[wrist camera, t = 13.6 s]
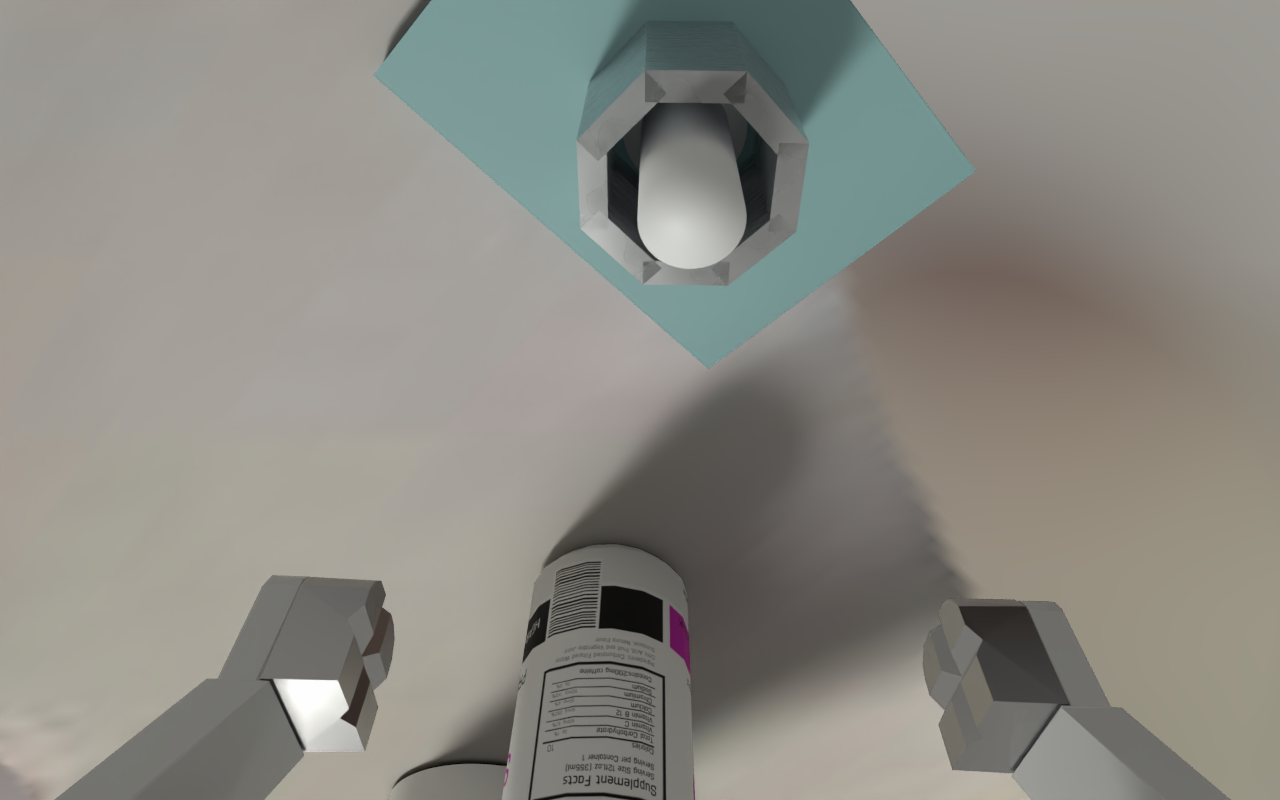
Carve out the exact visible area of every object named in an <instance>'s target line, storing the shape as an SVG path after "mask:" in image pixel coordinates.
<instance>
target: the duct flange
mask: <svg viewBox="0 0 1280 800" xmlns="http://www.w3.org/2000/svg"><path fill="white" fill-rule="evenodd" d="M646 21H721V22H733V23H734V24H735V25H736V27H737V28H738V29H739V30H740V31H741V32H742V34H743V35H744V36H745V37H746V38H747V40H748V41H749V42H750V43H751V44H752V46H753V47H754V48H755V49H756V50H757V52H758V53H759V54H760V55H761V56H762V58H763V59H764V60H765V61H766V62H767V63H768V65H769V66H770V67H771V68H772V69H773V71H774V72H775V73H776V74H777V75H778V77H779V78H780V79H781V80H782V81H783V83H784V84H785V85H786V88H787V90H788V93H789V95H790V97H791V100H792V102H793V105H794V107H795V110H796V112H797V114H798V117H799V119H800V122H801V124H802V127H803V129H804V132H805V134H806V136H807V139H808V141H809V149H808V156H807V163H806V170H805V177H804V184H803V190H802V197H801V204H800V211H799V218H798V225H797V231H796V232H795V233H794V234H793V235H792V236H790V237H789V238H788V239H787V240H785V241H784V242H783V243H782V244H780V245H779V246H778V247H776V248H775V249H774V250H773V251H771V252H770V253H769V254H768V255H766V256H765V257H764V258H763V259H761V260H760V261H759V262H758V263H756V264H755V265H754V266H753V267H751V268H750V269H749V270H747V271H746V272H745V273H744V274H742V275H741V276H740V277H739V278H737V279H736V280H735V281H734V282H732V283H731V284H730V285H729V286H704V285H643V284H642V283H641V282H639V281H638V280H637V279H636V278H635V277H634V276H633V275H632V274H631V273H629V272H628V271H627V270H626V269H625V268H624V267H623V266H622V265H620V264H619V263H618V262H617V261H616V260H615V259H614V258H613V257H612V256H610V255H609V254H608V253H607V252H606V251H605V250H604V249H603V248H601V247H600V246H599V245H598V244H597V243H596V242H595V241H594V240H593V239H591V238H590V237H589V236H588V235H587V234H586V233H585V232H584V231H582V230H581V229H580V210H579V188H578V166H577V143H576V140H577V135H578V130H579V126H580V121H581V117H582V112H583V108H584V103H585V99H586V94H587V90H588V85H589V82H590V81H591V80H592V79H593V78H594V76H595V75H596V74H597V73H598V72H599V71H600V70H601V69H602V68H603V67H604V66H605V65H606V64H607V63H608V62H609V61H610V60H611V58H612V57H613V56H614V55H615V54H616V53H617V52H618V51H619V50H620V49H621V48H622V47H623V46H624V45H625V44H626V43H627V42H628V40H629V39H630V38H631V37H632V36H633V35H634V34H635V33H636V32H637V31H638V30H639V29H640V28H641V27H642V26H643V25H644V24H645V22H646ZM374 76H375V77H376V78H377V79H378V80H379V81H380V82H382V83H383V84H384V85H385V86H386V87H387V88H388V89H390V90H391V91H392V92H393V93H394V94H395V95H396V96H398V97H399V98H400V99H401V100H402V101H403V102H404V103H406V104H407V105H408V106H409V107H410V108H411V109H412V110H414V111H415V112H416V113H417V114H418V115H419V116H420V117H422V118H423V119H424V120H425V121H426V122H427V123H428V124H430V125H431V126H432V127H433V128H434V129H435V130H436V131H438V132H439V133H440V134H441V135H442V136H443V137H444V138H445V139H447V140H448V141H449V142H450V143H451V144H452V145H453V146H455V147H456V148H457V149H458V150H459V151H460V152H461V153H463V154H464V155H465V156H466V157H467V158H468V159H469V160H471V161H472V162H473V163H474V164H475V165H476V166H477V167H479V168H480V169H481V170H482V171H483V172H484V173H485V174H487V175H488V176H489V177H490V178H491V179H492V180H493V181H495V182H496V183H497V184H498V185H499V186H500V187H501V188H503V189H504V190H505V191H506V192H507V193H508V194H509V195H511V196H512V197H513V198H514V199H515V200H516V201H517V202H519V203H520V204H521V205H522V206H523V207H524V208H525V209H527V210H528V211H529V212H530V213H531V214H532V215H533V216H535V217H536V218H537V219H538V220H539V221H540V222H541V223H543V224H544V225H545V226H546V227H547V228H548V229H549V230H551V231H552V232H553V233H554V234H555V235H556V236H557V237H559V238H560V239H561V240H562V241H563V242H564V243H565V244H567V245H568V246H569V247H570V248H571V249H572V250H573V251H574V252H576V253H577V254H578V255H579V256H580V257H581V258H582V259H584V260H585V261H586V262H587V263H588V264H589V265H590V266H592V267H593V268H594V269H595V270H596V271H597V272H598V273H600V274H601V275H602V276H603V277H604V278H605V279H606V280H608V281H609V282H610V283H611V284H612V285H613V286H614V287H616V288H617V289H618V290H619V291H620V292H621V293H622V294H624V295H625V296H626V297H627V298H628V299H629V300H630V301H632V302H633V303H634V304H635V305H636V306H637V307H638V308H640V309H641V310H642V311H643V312H644V313H645V314H646V315H648V316H649V317H650V318H651V319H652V320H653V321H654V322H656V323H657V324H658V325H659V326H660V327H661V328H662V329H664V330H665V331H666V332H667V333H668V334H669V335H670V336H672V337H673V338H674V339H675V340H676V341H677V342H678V343H680V344H681V345H682V346H683V347H684V348H685V349H686V350H688V351H689V352H690V353H691V354H692V355H693V356H694V357H696V358H697V359H698V360H699V361H700V362H701V363H702V364H703V365H705V366H706V367H707V368H708V369H709V368H710V367H711V366H713V365H714V364H715V363H717V362H718V361H720V360H721V359H722V358H724V357H725V356H726V355H728V354H729V353H730V352H732V351H733V350H734V349H736V348H737V347H738V346H740V345H741V344H743V343H744V342H745V341H747V340H748V339H749V338H751V337H752V336H753V335H755V334H756V333H757V332H759V331H760V330H761V329H763V328H764V327H766V326H767V325H768V324H770V323H771V322H772V321H774V320H775V319H776V318H778V317H779V316H780V315H782V314H783V313H784V312H786V311H787V310H789V309H790V308H791V307H793V306H794V305H795V304H797V303H798V302H799V301H801V300H802V299H803V298H805V297H806V296H808V295H809V294H810V293H812V292H813V291H814V290H816V289H817V288H818V287H820V286H821V285H822V284H824V283H825V282H826V281H828V280H829V279H831V278H832V277H833V276H835V275H836V274H837V273H839V272H840V271H841V270H843V269H844V268H845V267H847V266H848V265H849V264H851V263H852V262H853V261H855V260H856V259H857V258H859V257H860V256H862V255H863V254H864V253H866V252H867V251H868V250H870V249H871V248H872V247H874V246H875V245H876V244H878V243H879V242H881V241H882V240H883V239H885V238H886V237H887V236H888V235H890V234H891V233H893V232H894V231H895V230H897V229H898V228H899V227H901V226H902V225H904V224H905V223H906V222H908V221H909V220H910V219H912V218H913V217H914V216H916V215H917V214H919V213H920V212H921V211H923V210H924V209H925V208H927V207H928V206H929V205H931V204H932V203H933V202H935V201H936V200H937V199H939V198H940V197H941V196H943V195H944V194H946V193H947V192H948V191H950V190H951V189H952V188H954V187H955V186H956V185H958V184H959V183H960V182H962V181H963V180H965V179H966V178H967V177H969V176H970V175H971V174H973V173H974V172H975V171H976V170H975V169H974V167H973V166H972V165H971V163H970V162H969V161H968V159H967V158H966V157H965V155H964V154H963V153H962V151H961V150H960V148H959V147H958V146H957V144H956V143H955V142H954V140H953V139H952V138H951V136H950V135H949V134H948V132H947V131H946V129H945V128H944V127H943V125H942V124H941V123H940V122H939V120H938V119H937V117H936V116H935V114H934V113H933V112H932V111H931V109H930V108H929V106H928V105H927V104H926V102H925V101H924V100H923V98H922V97H921V96H920V94H919V93H918V91H917V90H916V89H915V87H914V86H913V85H912V83H911V82H910V81H909V79H908V78H907V77H906V75H905V74H904V73H903V71H902V70H901V68H900V67H899V66H898V64H897V63H896V62H895V60H894V59H893V58H892V56H891V55H890V54H889V52H888V51H887V50H886V48H885V47H884V46H883V44H882V43H881V41H880V40H879V39H878V37H877V36H876V35H875V34H874V32H873V31H872V29H871V28H870V27H869V25H868V24H867V23H866V21H865V20H864V19H863V17H862V16H861V14H860V13H859V12H858V10H857V9H856V8H855V6H854V5H853V4H852V2H851V1H850V0H431V1H430V2H429V4H428V5H427V6H426V8H425V9H424V10H423V12H422V13H421V14H420V15H419V17H418V18H417V19H416V21H415V22H414V23H413V25H412V26H411V27H410V28H409V30H408V31H407V32H406V34H405V35H404V36H403V37H402V39H401V40H400V41H399V43H398V44H397V45H396V47H395V48H394V49H393V50H392V52H391V53H390V54H389V56H388V57H387V58H386V60H385V61H384V62H383V63H382V65H381V66H380V67H379V69H378V70H377V71H376V73H375V74H374ZM754 138H755V129H754V128H753V127H752V126H751V125H750V123H749V122H748V121H747V120H746V119H745V118H744V117H743V116H742V115H741V113H740V112H739V111H738V110H737V109H736V108H735V107H734V106H733V104H732V103H660V102H658V103H657V104H656V105H655V106H654V107H653V108H652V109H651V110H650V111H649V112H648V113H647V114H646V115H645V116H643V117H642V118H641V119H640V120H639V121H638V122H637V123H636V124H635V125H634V126H633V127H632V128H631V129H630V130H629V131H628V132H627V133H626V134H625V135H624V136H623V137H622V138H621V139H620V140H619V141H618V142H617V143H616V144H615V152H616V153H617V154H618V155H619V156H620V157H621V158H622V159H623V160H624V161H625V162H626V163H627V164H628V165H629V166H630V167H631V168H633V169H634V170H635V171H636V172H637V173H638V174H639V193H638V216H637V223H638V230H639V234H640V237H641V239H642V241H643V243H644V245H645V246H646V248H647V249H648V250H649V251H650V252H651V253H652V255H654V256H655V257H656V258H657V259H659V260H660V261H662V262H664V263H666V264H668V265H671V266H674V267H678V268H684V269H697V268H703V267H707V266H710V265H712V264H715V263H717V262H719V261H721V260H722V259H724V258H725V257H726V256H728V255H729V254H730V253H731V252H732V251H733V250H734V249H735V248H736V246H737V245H738V243H739V242H740V240H741V238H742V236H743V234H744V231H745V227H746V219H747V214H746V206H745V201H744V197H743V192H742V187H741V182H740V177H739V172H738V166H739V165H740V164H741V163H743V162H744V161H745V160H746V159H747V158H748V157H749V156H751V155H752V154H753V148H754Z"/></svg>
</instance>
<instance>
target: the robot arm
mask: <svg viewBox="0 0 1280 800" xmlns="http://www.w3.org/2000/svg"><path fill="white" fill-rule="evenodd" d="M385 596H386V594H385V591H384V588H383V584H382V581H376V580H358V579H339V578H320V577H304V576H277V575H272V576H271V577H270V578H269V579H268V581H267V582H266V583H265V584H264V585H263V586H262V588H261V590H260V592H259V594H258V596H257V598H256V600H255V602H254V604H253V607H252V609H251V611H250V613H249V615H248V617H247V619H246V621H245V623H244V625H243V627H242V629H241V631H240V633H239V635H238V638H237V640H236V642H235V644H234V646H233V648H232V650H231V652H230V654H229V656H228V658H227V660H226V662H225V664H224V666H223V668H222V671H221V673H220V675H219V677H218V679H206V680H205V681H203V682H202V683H201V684H199V685H198V686H197V687H196V688H194V689H193V690H192V691H191V692H189V693H188V694H187V695H186V696H184V697H183V698H182V699H181V700H179V701H178V702H177V703H176V704H174V705H173V706H172V707H171V708H169V709H168V710H167V711H166V712H164V713H163V714H162V715H160V716H159V717H158V718H157V719H155V720H154V721H153V722H152V723H150V724H149V725H148V726H147V727H145V728H144V729H143V730H142V731H140V732H139V733H138V734H137V735H135V736H134V737H133V738H132V739H130V740H129V741H128V742H127V743H125V744H124V745H123V746H122V747H120V748H119V749H118V750H116V751H115V752H114V753H113V754H111V755H110V756H109V757H108V758H106V759H105V760H104V761H103V762H101V763H100V764H99V765H98V766H96V767H95V768H94V769H93V770H91V771H90V772H89V773H88V774H86V775H85V776H84V777H83V778H81V779H80V780H79V781H77V782H76V783H75V784H74V785H72V786H71V787H70V788H69V789H67V790H66V791H65V792H64V793H62V794H61V795H60V796H59V797H57V798H56V799H55V800H264V799H265V798H266V797H267V796H268V795H269V794H270V793H271V792H272V790H273V789H274V788H275V787H276V786H277V785H278V784H279V783H280V782H281V780H282V779H283V778H284V777H285V776H286V775H287V774H288V773H289V772H290V771H291V769H292V768H293V767H294V766H295V765H296V764H297V763H298V762H299V761H300V759H301V758H302V757H303V756H304V753H303V752H365V750H366V746H367V743H368V740H369V736H370V733H371V730H372V726H373V723H374V720H375V716H376V713H377V710H378V705H377V702H376V698H375V695H374V692H373V690H374V689H376V688H377V687H378V686H379V685H380V684H381V683H382V682H383V681H384V680H385V679H386V678H387V675H388V672H389V668H390V664H391V661H392V655H393V647H394V639H395V638H394V624H393V620H392V616H391V614H390V613H389V612H388V611H386V610H385V609H384V608H382V606H383V603H384V600H385ZM938 615H939V618H940V621H941V625H940V626H938V627H936V628H935V629H933V630H932V631H930V632H929V634H928V637H927V639H926V642H925V644H924V652H923V669H924V675H925V681H926V684H927V688H928V691H929V695H930V696H931V697H932V698H933V699H934V700H935V701H936V702H937V703H938V704H939V705H940V706H941V707H942V708H943V709H944V710H945V711H944V713H943V716H942V718H941V720H940V722H939V728H940V731H941V734H942V738H943V741H944V744H945V747H946V751H947V754H948V757H949V760H950V764H951V767H952V770H965V771H982V772H999V773H1013V775H1012V778H1013V779H1014V780H1015V781H1016V782H1017V783H1018V785H1019V786H1020V787H1021V788H1022V789H1023V790H1024V792H1025V793H1026V794H1027V795H1028V796H1029V798H1030V799H1031V800H1231V799H1229V798H1228V797H1227V796H1226V795H1225V794H1223V793H1222V792H1221V791H1220V790H1219V789H1217V788H1216V787H1215V786H1214V785H1213V784H1212V783H1210V782H1209V781H1208V780H1207V779H1206V778H1204V777H1203V776H1202V775H1201V774H1200V773H1199V772H1197V771H1196V770H1195V769H1194V768H1193V767H1191V766H1190V765H1189V764H1188V763H1187V762H1185V761H1184V760H1183V759H1182V758H1181V757H1179V756H1178V755H1177V754H1176V753H1175V752H1174V751H1172V750H1171V749H1170V748H1169V747H1168V746H1166V745H1165V744H1164V743H1163V742H1162V741H1160V740H1159V739H1158V738H1157V737H1156V736H1155V735H1153V734H1152V733H1151V732H1150V731H1149V730H1147V729H1146V728H1145V727H1144V726H1142V724H1140V723H1139V722H1138V721H1137V720H1135V719H1134V718H1133V717H1132V716H1131V715H1130V714H1128V713H1127V712H1126V711H1125V710H1124V709H1123V708H1117V707H1111V706H1110V704H1109V702H1108V700H1107V698H1106V696H1105V694H1104V692H1103V690H1102V688H1101V686H1100V684H1099V682H1098V680H1097V678H1096V676H1095V674H1094V672H1093V670H1092V668H1091V666H1090V664H1089V662H1088V661H1087V658H1086V656H1085V654H1084V652H1083V650H1082V648H1081V646H1080V644H1079V642H1078V640H1077V638H1076V636H1075V634H1074V632H1073V630H1072V628H1071V626H1070V624H1069V622H1068V620H1067V618H1066V616H1065V614H1064V612H1063V610H1062V609H1061V608H1060V607H1059V606H1058V605H1057V604H1056V603H1055V602H1048V601H1016V600H1003V599H948V600H946V601H945V602H943V604H942V606H941V608H940V610H939V612H938ZM506 768H507V766H500V765H489V764H456V765H446V766H440V767H434V768H430V769H426V770H423V771H420V772H417V773H414V774H412V775H410V776H408V777H406V778H404V779H403V780H401V781H400V782H399V783H398V784H397V785H396V786H395V787H394V788H393V790H392V791H391V793H390V798H389V800H502V795H503V788H504V781H505V775H506Z"/></svg>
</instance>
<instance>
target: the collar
mask: <svg viewBox="0 0 1280 800" xmlns="http://www.w3.org/2000/svg"><path fill="white" fill-rule="evenodd" d="M658 102H660V103H732V104H733V106H734V107H735V108H736V109H737V110H738V111H739V112H740V113H741V115H742V116H743V117H744V118H745V119H746V120H747V121H748V122H749V123H750V125H751V126H752V127H753V128H754V129H755V138H754V148H753V154H752V155H751V156H749V157H748V158H747V159H746V160H745V161H744V162H743V163H741V164H740V165H739V166H738V172H739V177H740V182H741V187H742V192H743V197H744V201H745V206H746V214H747V219H746V227H745V231H744V234H743V236H742V238H741V240H740V242H739V243H738V245H737V246H736V248H735V249H734V250H733V251H732V252H731V253H730V254H729V255H728V256H726V257H725V258H724V259H722V260H721V261H719V262H717V263H715V264H712V265H710V266H707V267H703V268H697V269H684V268H678V267H674V266H671V265H668V264H666V263H664V262H662V261H660V260H659V259H657V258H656V257H655V256H654V255H652V253H651V252H650V251H649V250H648V249H647V248H646V246H645V245H644V243H643V241H642V239H641V237H640V234H639V230H638V223H637V216H638V193H639V174H638V173H637V172H636V171H635V170H634V169H633V168H631V167H630V166H629V165H628V164H627V163H626V162H625V161H624V160H623V159H622V158H621V157H620V156H619V155H618V154H617V153H616V152H615V144H616V143H617V142H618V141H619V140H620V139H621V138H622V137H623V136H624V135H625V134H626V133H627V132H628V131H629V130H630V129H631V128H632V127H633V126H634V125H635V124H636V123H637V122H638V121H639V120H640V119H641V118H642V117H643V116H645V115H646V114H647V113H648V112H649V111H650V110H651V109H652V108H653V107H654V106H655V105H656V104H657V103H658ZM576 143H577V166H578V188H579V210H580V229H581V230H582V231H584V232H585V233H586V234H587V235H588V236H589V237H590V238H591V239H593V240H594V241H595V242H596V243H597V244H598V245H599V246H600V247H601V248H603V249H604V250H605V251H606V252H607V253H608V254H609V255H610V256H612V257H613V258H614V259H615V260H616V261H617V262H618V263H619V264H620V265H622V266H623V267H624V268H625V269H626V270H627V271H628V272H629V273H631V274H632V275H633V276H634V277H635V278H636V279H637V280H638V281H639V282H641V283H642V284H643V285H704V286H729V285H730V284H731V283H732V282H734V281H735V280H736V279H737V278H739V277H740V276H741V275H742V274H744V273H745V272H746V271H747V270H749V269H750V268H751V267H753V266H754V265H755V264H756V263H758V262H759V261H760V260H761V259H763V258H764V257H765V256H766V255H768V254H769V253H770V252H771V251H773V250H774V249H775V248H776V247H778V246H779V245H780V244H782V243H783V242H784V241H785V240H787V239H788V238H789V237H790V236H792V235H793V234H794V233H795V232H796V231H797V225H798V218H799V211H800V204H801V197H802V190H803V184H804V177H805V170H806V163H807V156H808V149H809V141H808V139H807V136H806V134H805V132H804V129H803V127H802V124H801V122H800V119H799V117H798V114H797V112H796V110H795V107H794V105H793V102H792V100H791V97H790V95H789V93H788V90H787V88H786V85H785V84H784V83H783V81H782V80H781V79H780V78H779V77H778V75H777V74H776V73H775V72H774V71H773V69H772V68H771V67H770V66H769V65H768V63H767V62H766V61H765V60H764V59H763V58H762V56H761V55H760V54H759V53H758V52H757V50H756V49H755V48H754V47H753V46H752V44H751V43H750V42H749V41H748V40H747V38H746V37H745V36H744V35H743V34H742V32H741V31H740V30H739V29H738V28H737V27H736V25H735V24H734V23H733V22H721V21H646V22H645V24H644V25H643V26H642V27H641V28H640V29H639V30H638V31H637V32H636V33H635V34H634V35H633V36H632V37H631V38H630V39H629V40H628V42H627V43H626V44H625V45H624V46H623V47H622V48H621V49H620V50H619V51H618V52H617V53H616V54H615V55H614V56H613V57H612V58H611V60H610V61H609V62H608V63H607V64H606V65H605V66H604V67H603V68H602V69H601V70H600V71H599V72H598V73H597V74H596V75H595V76H594V78H593V79H592V80H591V81H590V82H589V85H588V90H587V94H586V99H585V103H584V108H583V112H582V117H581V121H580V126H579V130H578V135H577V140H576Z"/></svg>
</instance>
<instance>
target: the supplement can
mask: <svg viewBox="0 0 1280 800" xmlns="http://www.w3.org/2000/svg"><path fill="white" fill-rule="evenodd" d="M502 800H695V790H694V763H693V735H692V708H691V681H690V653H689V626H688V599H687V593H686V590H685V587H684V584H683V581H682V578H681V577H680V576H679V575H678V574H677V573H676V572H675V571H674V570H673V569H672V568H671V567H670V566H669V565H668V564H666V563H664V562H662V561H661V560H660V559H659V558H657V557H655V556H653V555H651V554H649V553H647V552H645V551H643V550H641V549H638V548H633V547H628V546H623V545H618V544H605V545H591V546H587V547H584V548H580V549H577V550H573V551H571V552H569V553H568V554H566V555H563V556H561V557H560V558H558V559H557V560H555V561H554V562H552V563H551V564H549V565H548V566H546V567H545V568H544V569H543V571H542V572H541V574H540V575H539V577H538V579H537V580H536V582H535V583H534V590H533V597H532V603H531V610H530V616H529V623H528V630H527V636H526V643H525V649H524V656H523V663H522V669H521V676H520V682H519V689H518V696H517V702H516V709H515V715H514V722H513V729H512V735H511V742H510V748H509V755H508V762H507V768H506V775H505V781H504V788H503V795H502Z"/></svg>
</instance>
